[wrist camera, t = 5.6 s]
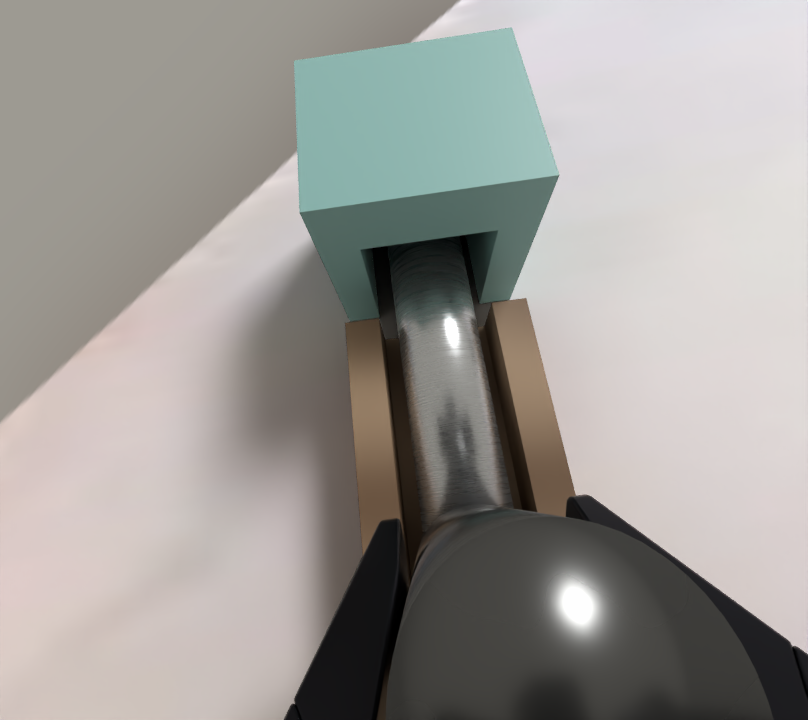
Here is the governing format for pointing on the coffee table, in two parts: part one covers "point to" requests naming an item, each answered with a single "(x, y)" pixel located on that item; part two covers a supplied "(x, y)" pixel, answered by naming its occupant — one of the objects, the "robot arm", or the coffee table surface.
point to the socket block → (421, 158)
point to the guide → (514, 410)
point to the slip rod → (530, 563)
